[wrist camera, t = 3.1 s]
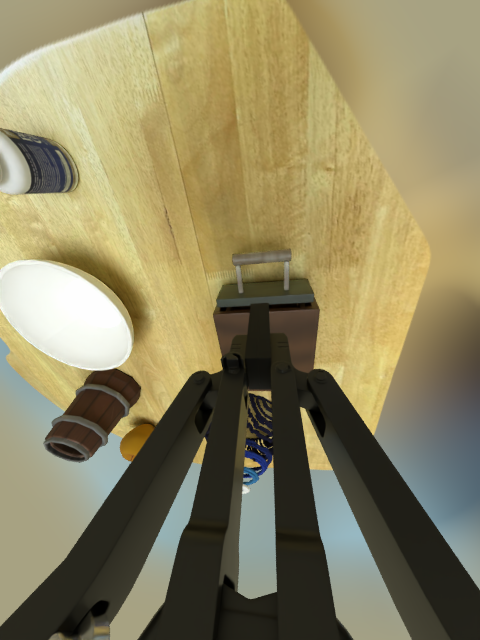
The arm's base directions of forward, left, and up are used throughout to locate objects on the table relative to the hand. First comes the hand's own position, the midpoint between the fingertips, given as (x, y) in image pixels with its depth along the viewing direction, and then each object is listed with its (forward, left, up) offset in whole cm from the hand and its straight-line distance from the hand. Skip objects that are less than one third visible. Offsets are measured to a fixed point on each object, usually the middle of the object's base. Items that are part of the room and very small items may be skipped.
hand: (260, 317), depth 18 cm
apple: (+48, +29, -14) cm, 58 cm away
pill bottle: (+18, -22, -14) cm, 32 cm away
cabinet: (+4, +11, -14) cm, 18 cm away
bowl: (+29, -6, -14) cm, 33 cm away
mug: (+45, +13, -14) cm, 49 cm away
